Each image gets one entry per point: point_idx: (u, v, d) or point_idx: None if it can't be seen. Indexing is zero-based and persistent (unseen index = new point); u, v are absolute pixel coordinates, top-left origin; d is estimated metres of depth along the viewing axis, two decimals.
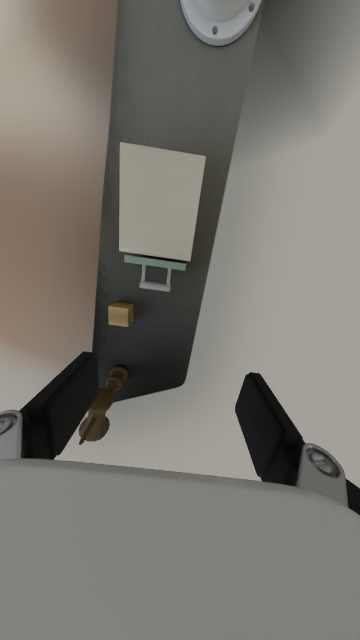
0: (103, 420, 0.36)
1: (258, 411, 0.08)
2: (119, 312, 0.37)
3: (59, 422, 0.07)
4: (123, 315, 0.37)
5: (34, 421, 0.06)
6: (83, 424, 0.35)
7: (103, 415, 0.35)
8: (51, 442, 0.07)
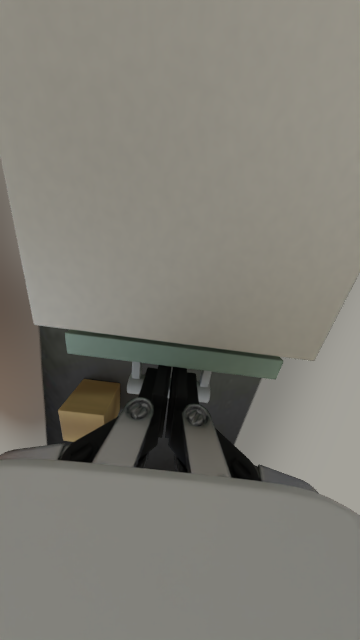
0: None
1: None
2: (84, 421, 0.16)
3: None
4: (94, 426, 0.17)
5: (156, 407, 0.07)
6: None
7: None
8: (161, 425, 0.08)
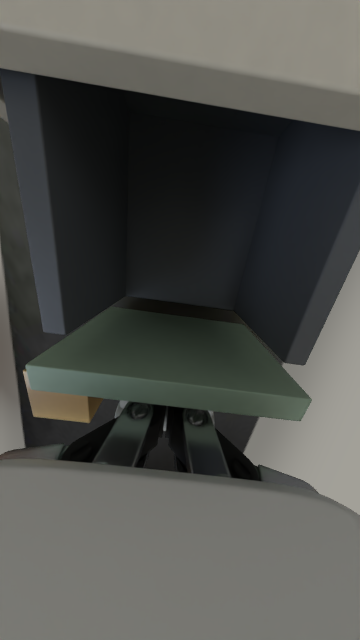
0: None
1: None
2: None
3: None
4: (73, 395, 0.12)
5: (156, 407, 0.07)
6: None
7: None
8: (161, 425, 0.08)
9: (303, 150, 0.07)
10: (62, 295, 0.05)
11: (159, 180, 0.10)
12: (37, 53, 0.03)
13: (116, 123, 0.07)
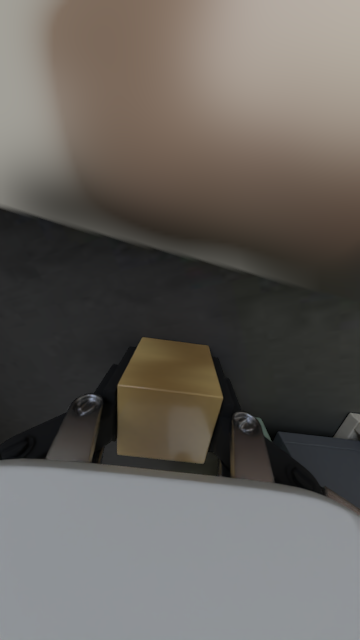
0: None
1: None
2: (187, 435, 0.08)
3: None
4: (172, 447, 0.08)
5: (109, 403, 0.07)
6: None
7: None
8: None
9: None
10: None
11: None
12: None
13: None
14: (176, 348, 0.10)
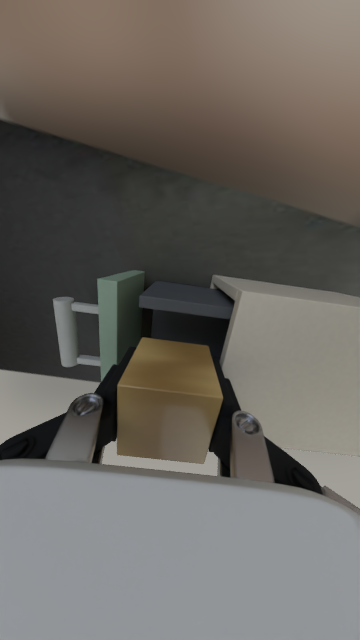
0: None
1: None
2: (187, 435, 0.08)
3: None
4: (172, 447, 0.08)
5: (109, 403, 0.07)
6: None
7: None
8: None
9: None
10: (160, 309, 0.11)
11: None
12: (229, 333, 0.10)
13: None
14: (176, 348, 0.10)
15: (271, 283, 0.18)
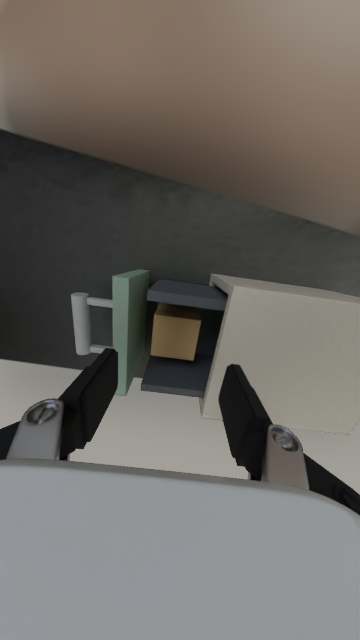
0: None
1: (234, 398, 0.09)
2: (185, 342, 0.16)
3: (91, 411, 0.08)
4: (178, 350, 0.16)
5: (72, 409, 0.07)
6: None
7: None
8: (84, 429, 0.07)
9: None
10: (165, 302, 0.13)
11: (217, 310, 0.19)
12: (223, 322, 0.12)
13: None
14: (179, 307, 0.18)
15: (264, 281, 0.19)
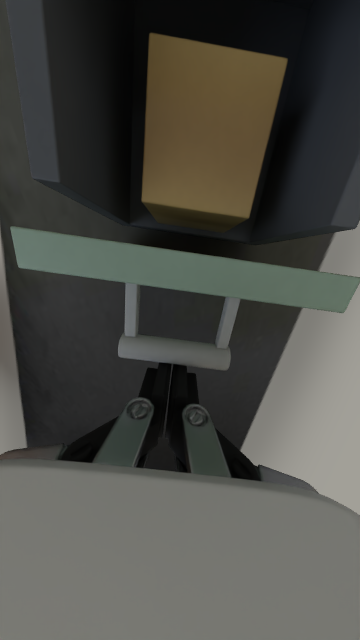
0: None
1: None
2: (220, 96, 0.05)
3: None
4: (242, 125, 0.06)
5: (156, 407, 0.07)
6: None
7: None
8: (161, 425, 0.08)
9: None
10: (54, 117, 0.04)
11: None
12: None
13: None
14: None
15: None
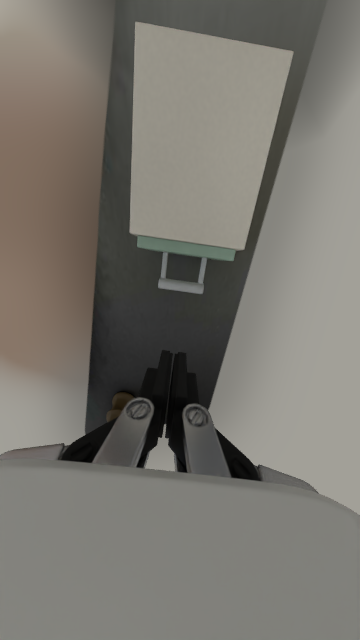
0: None
1: None
2: None
3: None
4: None
5: (156, 407, 0.07)
6: None
7: None
8: (161, 426, 0.08)
9: None
10: None
11: None
12: (156, 237, 0.18)
13: None
14: None
15: None
